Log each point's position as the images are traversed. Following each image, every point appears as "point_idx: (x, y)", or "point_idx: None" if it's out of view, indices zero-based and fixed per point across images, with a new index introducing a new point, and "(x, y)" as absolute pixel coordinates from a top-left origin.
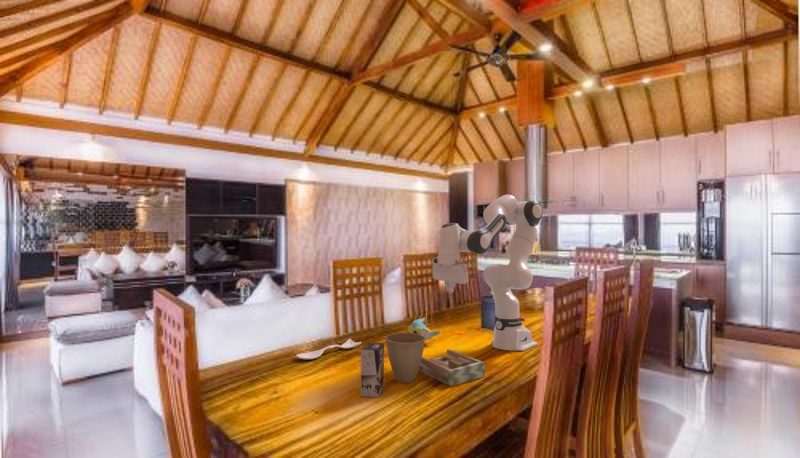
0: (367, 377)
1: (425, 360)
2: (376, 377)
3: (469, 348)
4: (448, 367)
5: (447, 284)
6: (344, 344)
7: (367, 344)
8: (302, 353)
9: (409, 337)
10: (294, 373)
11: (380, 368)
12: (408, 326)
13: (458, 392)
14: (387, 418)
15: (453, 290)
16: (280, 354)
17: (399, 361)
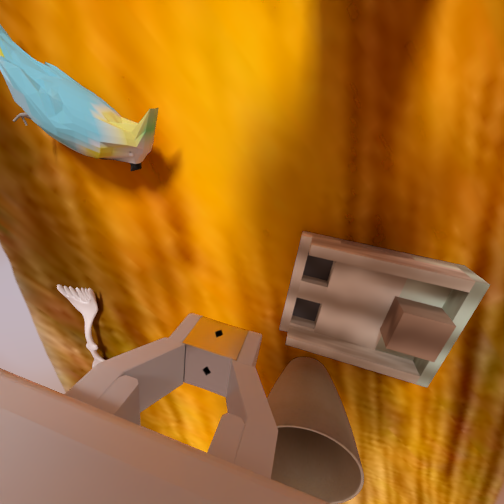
0: None
1: (320, 354)
2: None
3: (275, 60)
4: (381, 334)
5: (140, 392)
6: (76, 304)
7: None
8: None
9: (276, 415)
10: (162, 423)
11: None
12: (26, 114)
13: (447, 375)
14: (392, 484)
15: (258, 346)
16: (74, 380)
17: (320, 444)
